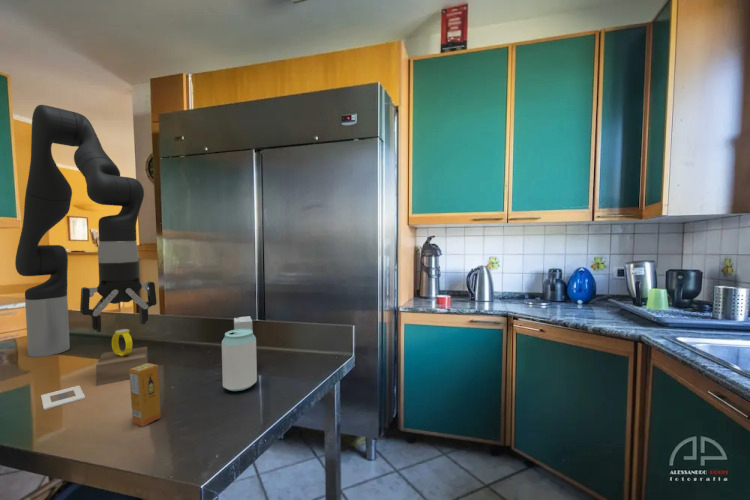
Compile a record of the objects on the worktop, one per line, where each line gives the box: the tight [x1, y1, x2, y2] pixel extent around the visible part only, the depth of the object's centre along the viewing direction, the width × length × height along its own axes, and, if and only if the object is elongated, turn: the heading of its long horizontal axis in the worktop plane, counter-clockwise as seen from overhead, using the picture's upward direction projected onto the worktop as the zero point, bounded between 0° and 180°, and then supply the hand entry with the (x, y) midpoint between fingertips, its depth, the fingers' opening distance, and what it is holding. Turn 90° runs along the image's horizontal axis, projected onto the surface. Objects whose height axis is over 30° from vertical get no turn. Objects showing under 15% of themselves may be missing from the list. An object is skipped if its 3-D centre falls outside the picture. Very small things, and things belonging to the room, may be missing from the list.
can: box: [221, 329, 258, 392], centre depth 73 cm, size 7×7×12 cm
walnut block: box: [95, 346, 149, 387], centre depth 79 cm, size 9×9×5 cm
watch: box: [111, 328, 133, 356], centre depth 79 cm, size 6×3×6 cm, turn 66°
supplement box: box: [129, 362, 162, 427], centre depth 59 cm, size 3×3×10 cm
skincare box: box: [233, 315, 254, 332], centre depth 84 cm, size 6×4×12 cm
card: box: [40, 384, 86, 411], centre depth 68 cm, size 8×6×1 cm
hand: (121, 327), depth 79 cm, fingers open, 8 cm apart
